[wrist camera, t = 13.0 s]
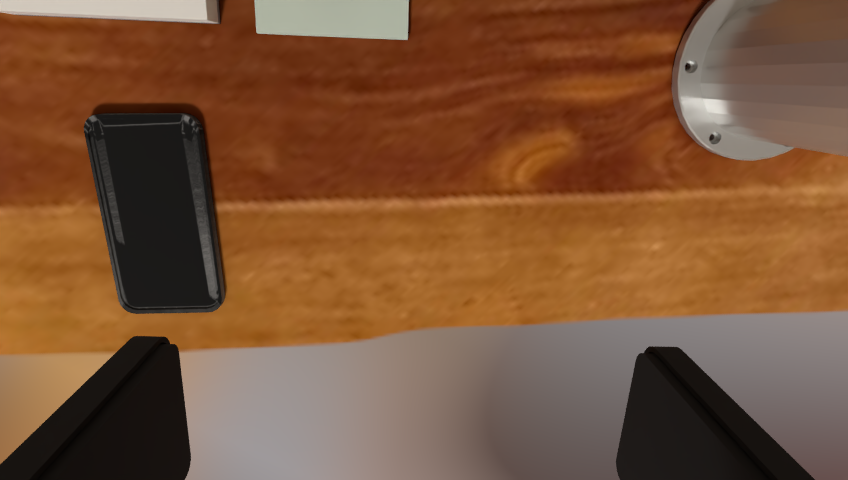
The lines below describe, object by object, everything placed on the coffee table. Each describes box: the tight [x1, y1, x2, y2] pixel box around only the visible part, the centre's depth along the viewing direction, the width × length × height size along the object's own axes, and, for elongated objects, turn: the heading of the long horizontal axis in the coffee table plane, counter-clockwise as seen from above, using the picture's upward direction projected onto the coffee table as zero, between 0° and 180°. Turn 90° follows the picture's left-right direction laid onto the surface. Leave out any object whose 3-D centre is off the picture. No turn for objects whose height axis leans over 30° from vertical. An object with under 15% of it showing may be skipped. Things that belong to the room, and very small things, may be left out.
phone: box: [84, 113, 225, 314], centre depth 37 cm, size 8×1×15 cm
